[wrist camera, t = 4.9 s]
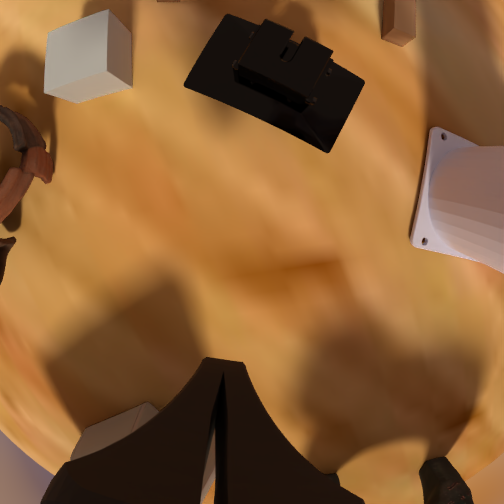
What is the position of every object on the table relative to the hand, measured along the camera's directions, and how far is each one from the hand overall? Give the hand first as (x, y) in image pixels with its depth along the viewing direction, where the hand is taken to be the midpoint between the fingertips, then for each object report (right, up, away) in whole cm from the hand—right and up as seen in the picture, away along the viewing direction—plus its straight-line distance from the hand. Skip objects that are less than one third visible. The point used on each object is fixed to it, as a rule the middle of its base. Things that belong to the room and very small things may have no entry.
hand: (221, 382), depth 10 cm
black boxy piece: (+3, +15, +7) cm, 16 cm away
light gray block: (-8, +16, +6) cm, 19 cm away
